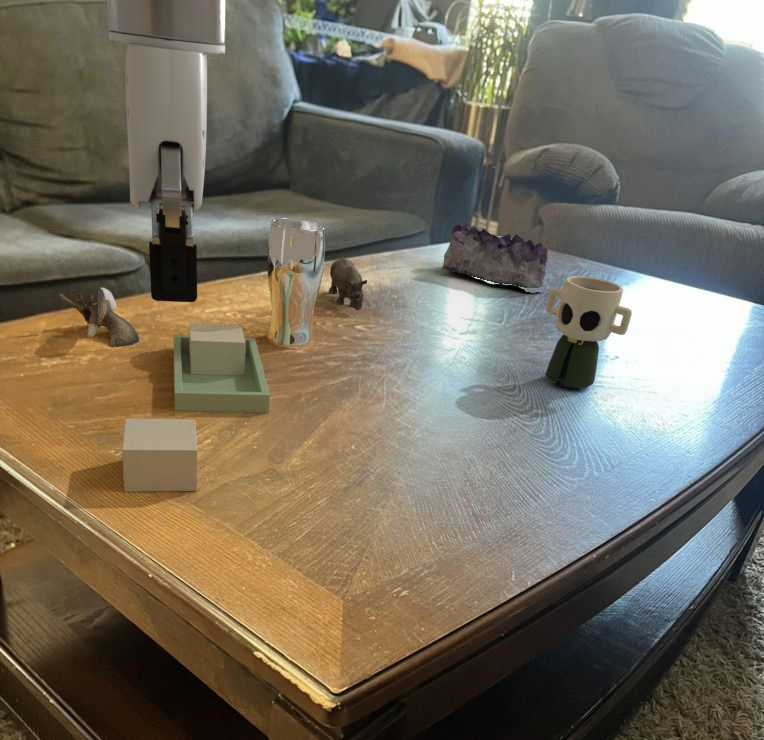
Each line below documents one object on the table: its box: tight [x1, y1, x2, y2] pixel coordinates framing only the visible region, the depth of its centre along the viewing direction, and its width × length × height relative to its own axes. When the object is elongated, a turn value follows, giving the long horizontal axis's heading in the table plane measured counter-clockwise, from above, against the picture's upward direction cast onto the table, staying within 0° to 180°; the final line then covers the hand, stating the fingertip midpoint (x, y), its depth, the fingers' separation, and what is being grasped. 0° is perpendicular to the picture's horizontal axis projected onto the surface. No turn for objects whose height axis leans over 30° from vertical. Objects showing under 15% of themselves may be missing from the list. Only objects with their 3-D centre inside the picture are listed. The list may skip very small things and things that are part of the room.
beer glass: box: [266, 217, 326, 350], centre depth 98 cm, size 7×7×15 cm
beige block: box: [188, 322, 245, 376], centre depth 90 cm, size 6×6×4 cm
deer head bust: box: [58, 287, 140, 348], centre depth 94 cm, size 8×7×9 cm
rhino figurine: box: [328, 256, 368, 311], centre depth 118 cm, size 4×14×6 cm, turn 16°
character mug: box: [545, 275, 632, 389], centre depth 98 cm, size 11×7×13 cm, turn 55°
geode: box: [442, 223, 549, 288], centre depth 141 cm, size 20×12×10 cm, turn 62°
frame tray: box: [173, 334, 271, 414], centre depth 87 cm, size 17×10×2 cm, turn 13°
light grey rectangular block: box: [121, 418, 198, 493], centre depth 68 cm, size 6×6×4 cm
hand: (174, 281), depth 60 cm, fingers open, 9 cm apart
